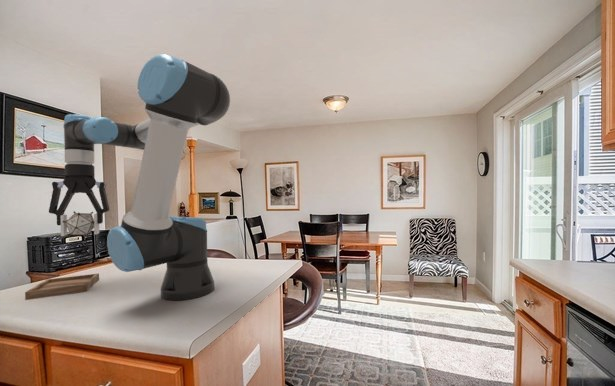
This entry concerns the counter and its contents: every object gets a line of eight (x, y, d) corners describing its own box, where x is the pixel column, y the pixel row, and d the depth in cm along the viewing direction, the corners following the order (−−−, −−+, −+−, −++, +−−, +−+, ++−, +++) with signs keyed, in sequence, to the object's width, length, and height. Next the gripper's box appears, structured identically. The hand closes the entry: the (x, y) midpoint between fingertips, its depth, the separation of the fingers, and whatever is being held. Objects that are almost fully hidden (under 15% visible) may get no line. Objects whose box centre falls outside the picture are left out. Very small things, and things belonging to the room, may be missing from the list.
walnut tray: (86, 291, 92) (86, 284, 92) (25, 299, 86) (25, 292, 86) (99, 279, 106) (98, 273, 106) (47, 285, 100) (46, 279, 100)
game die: (80, 248, 91) (74, 226, 86) (59, 237, 93) (52, 214, 87) (106, 232, 99) (102, 210, 93) (86, 222, 100) (81, 199, 94)
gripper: (120, 166, 100) (120, 231, 100) (43, 164, 92) (44, 235, 92) (115, 164, 93) (116, 234, 93) (32, 162, 85) (33, 238, 85)
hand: (80, 234), depth 93 cm, fingers closed on game die, 8 cm apart
